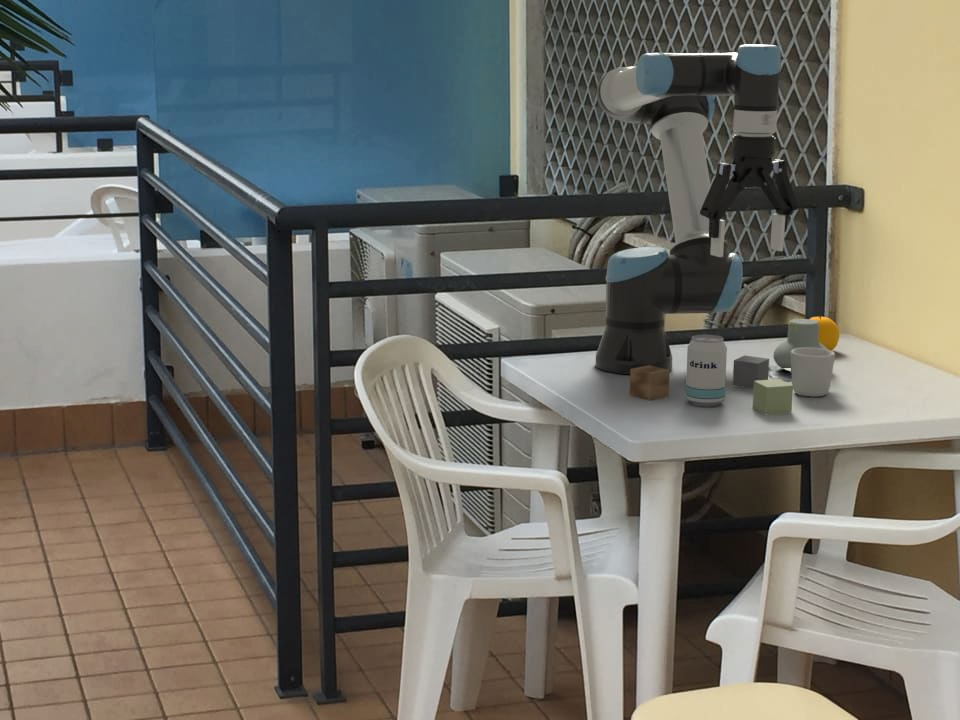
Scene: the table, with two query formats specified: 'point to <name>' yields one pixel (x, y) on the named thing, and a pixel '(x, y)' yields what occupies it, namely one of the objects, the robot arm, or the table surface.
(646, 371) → the walnut block
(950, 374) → the table surface
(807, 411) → the table surface
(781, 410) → the olive block
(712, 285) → the robot arm
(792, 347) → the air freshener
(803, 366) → the cup
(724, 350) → the beverage can
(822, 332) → the orange
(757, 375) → the charcoal block
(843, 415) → the table surface
